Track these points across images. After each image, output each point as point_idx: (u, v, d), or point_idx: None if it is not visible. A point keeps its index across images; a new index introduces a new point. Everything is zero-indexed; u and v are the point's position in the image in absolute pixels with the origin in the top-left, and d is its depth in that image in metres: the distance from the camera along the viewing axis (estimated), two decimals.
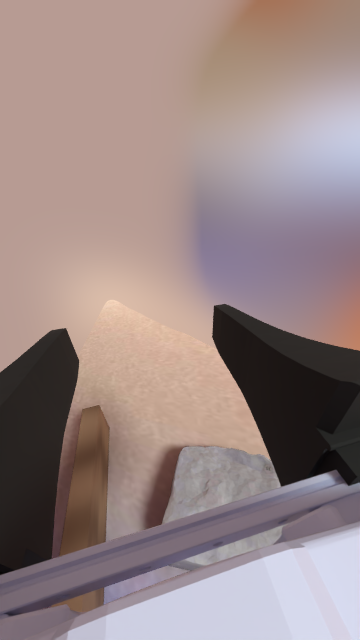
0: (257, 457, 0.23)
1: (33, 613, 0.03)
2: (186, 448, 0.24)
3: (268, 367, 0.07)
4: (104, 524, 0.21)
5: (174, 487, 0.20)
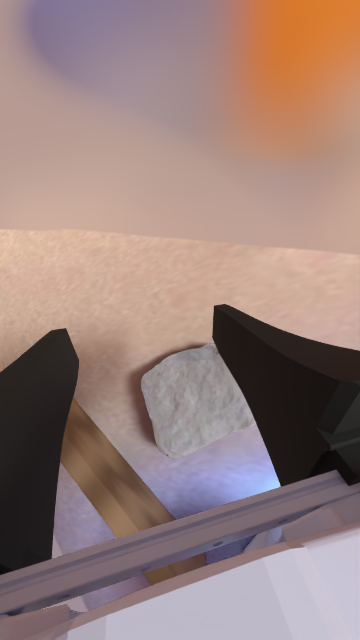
0: (205, 348, 0.23)
1: (32, 614, 0.03)
2: (144, 377, 0.24)
3: (268, 367, 0.07)
4: (117, 455, 0.25)
5: (151, 418, 0.22)
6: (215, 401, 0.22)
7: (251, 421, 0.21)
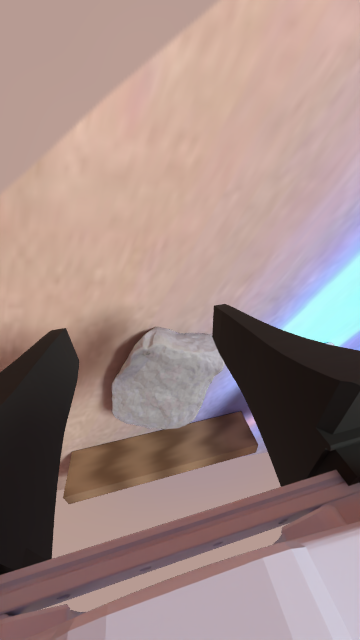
0: (134, 359, 0.19)
1: (32, 614, 0.03)
2: (115, 413, 0.22)
3: (268, 367, 0.07)
4: (151, 436, 0.29)
5: None
6: (183, 381, 0.21)
7: (219, 368, 0.21)
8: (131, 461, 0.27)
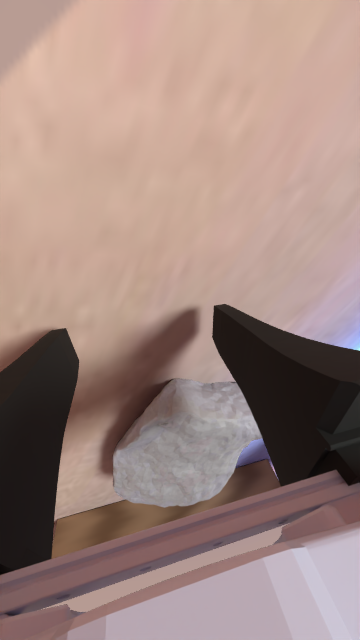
0: (145, 431, 0.13)
1: (32, 614, 0.03)
2: (117, 490, 0.17)
3: (268, 367, 0.07)
4: None
5: None
6: (212, 452, 0.15)
7: None
8: None
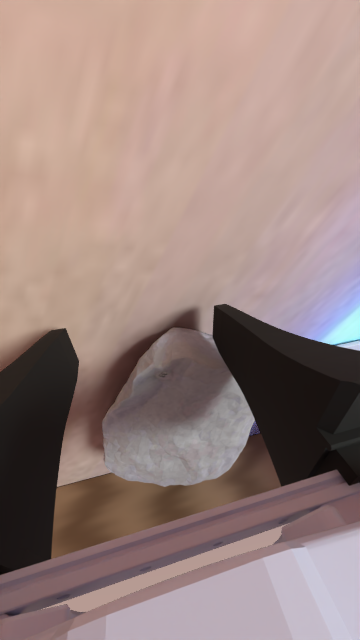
0: (138, 385, 0.11)
1: (32, 614, 0.03)
2: (109, 465, 0.14)
3: (268, 367, 0.07)
4: None
5: None
6: (220, 416, 0.13)
7: None
8: (120, 512, 0.17)
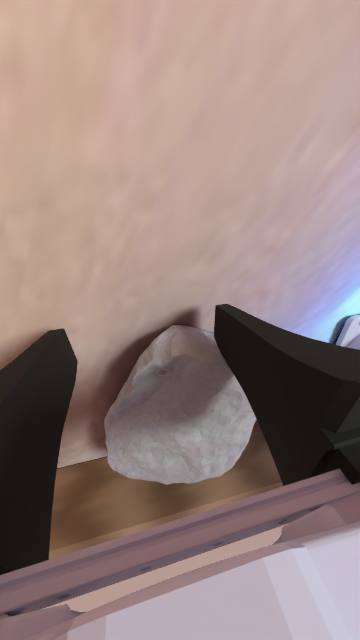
0: (138, 382, 0.11)
1: (32, 614, 0.03)
2: (111, 463, 0.14)
3: (271, 367, 0.07)
4: None
5: None
6: (222, 414, 0.13)
7: None
8: (115, 497, 0.16)
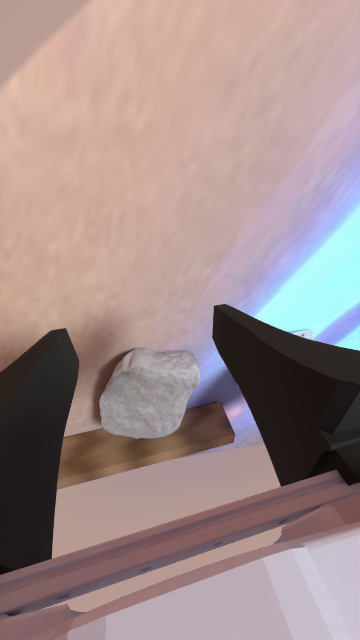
0: (116, 379, 0.21)
1: (32, 614, 0.03)
2: (104, 426, 0.25)
3: (268, 367, 0.07)
4: None
5: (140, 437, 0.25)
6: (163, 396, 0.23)
7: (196, 382, 0.23)
8: (103, 451, 0.26)
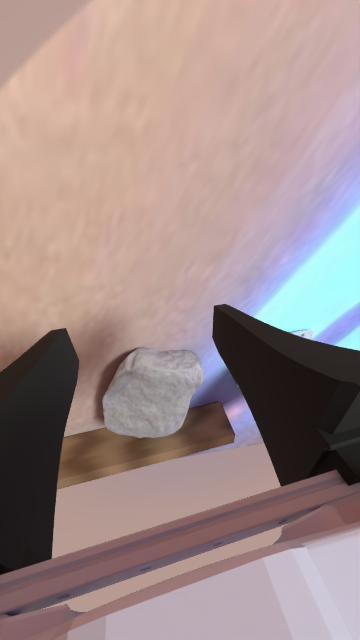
0: (119, 378, 0.21)
1: (32, 614, 0.03)
2: (107, 425, 0.25)
3: (268, 367, 0.07)
4: None
5: None
6: (166, 395, 0.23)
7: (199, 382, 0.23)
8: (103, 451, 0.26)
